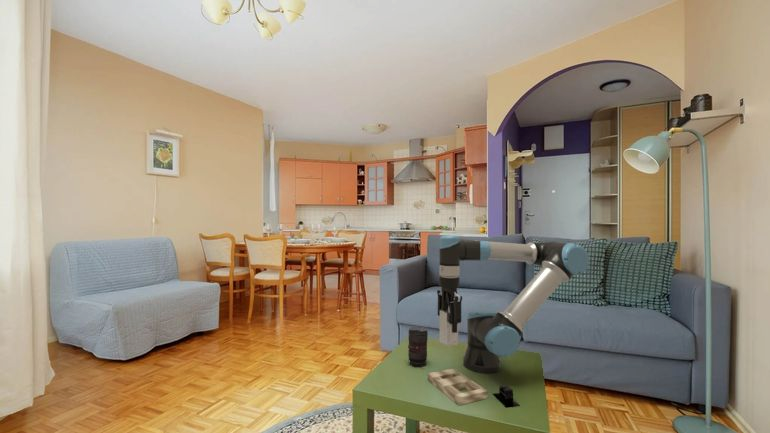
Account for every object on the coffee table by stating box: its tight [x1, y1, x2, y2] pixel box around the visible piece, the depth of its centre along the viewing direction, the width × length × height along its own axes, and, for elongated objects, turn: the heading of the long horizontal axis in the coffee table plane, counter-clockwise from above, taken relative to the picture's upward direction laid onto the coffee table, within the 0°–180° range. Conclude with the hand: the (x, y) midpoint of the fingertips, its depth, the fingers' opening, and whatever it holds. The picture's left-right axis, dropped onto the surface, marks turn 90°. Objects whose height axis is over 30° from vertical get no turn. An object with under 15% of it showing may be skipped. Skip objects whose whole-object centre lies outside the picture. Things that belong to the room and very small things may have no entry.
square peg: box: [438, 308, 459, 347], centre depth 131 cm, size 5×5×12 cm
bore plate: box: [427, 368, 489, 406], centre depth 127 cm, size 12×20×2 cm, turn 23°
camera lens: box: [407, 325, 429, 368], centre depth 149 cm, size 8×8×15 cm
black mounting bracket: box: [492, 384, 521, 409], centre depth 119 cm, size 12×7×5 cm, turn 10°
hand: (448, 338), depth 131 cm, fingers closed on square peg, 5 cm apart
